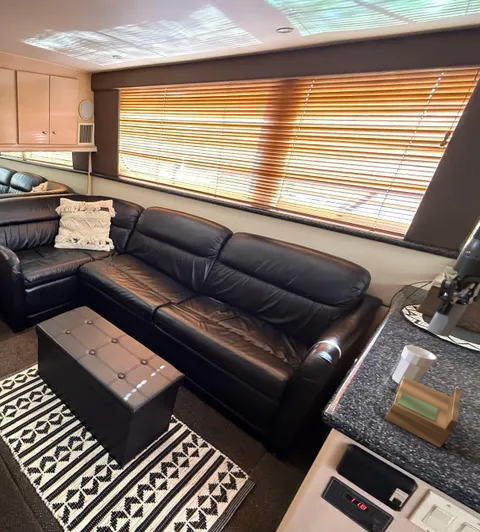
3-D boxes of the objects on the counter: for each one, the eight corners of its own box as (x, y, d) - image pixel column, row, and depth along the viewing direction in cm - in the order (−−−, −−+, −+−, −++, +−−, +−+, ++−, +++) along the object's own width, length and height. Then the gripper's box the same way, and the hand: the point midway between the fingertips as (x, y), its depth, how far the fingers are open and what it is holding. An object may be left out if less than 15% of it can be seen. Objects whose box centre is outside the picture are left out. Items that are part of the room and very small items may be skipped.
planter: (426, 326, 95) (444, 295, 91) (448, 333, 92) (467, 302, 88) (426, 331, 92) (444, 300, 88) (449, 338, 89) (468, 306, 85)
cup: (395, 372, 100) (411, 343, 96) (422, 387, 95) (441, 357, 90) (383, 376, 98) (400, 347, 94) (411, 392, 92) (429, 361, 88)
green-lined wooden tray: (396, 389, 92) (409, 367, 89) (445, 412, 85) (461, 389, 82) (384, 418, 81) (398, 394, 78) (439, 447, 74) (458, 422, 71)
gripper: (480, 262, 79) (445, 321, 85) (521, 262, 81) (484, 320, 87) (443, 252, 85) (413, 307, 92) (482, 253, 88) (451, 306, 94)
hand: (448, 313), depth 90 cm, fingers closed on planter, 4 cm apart
